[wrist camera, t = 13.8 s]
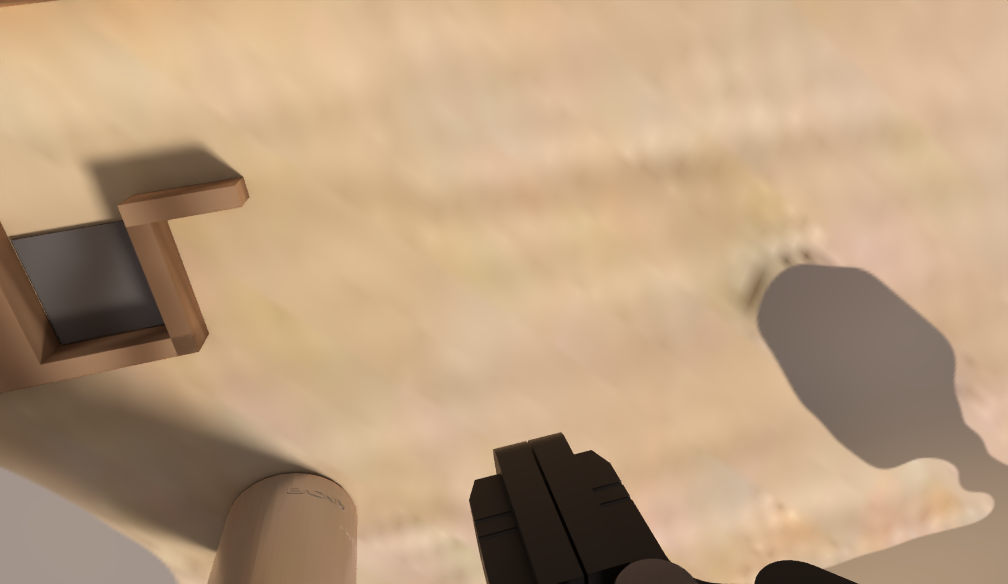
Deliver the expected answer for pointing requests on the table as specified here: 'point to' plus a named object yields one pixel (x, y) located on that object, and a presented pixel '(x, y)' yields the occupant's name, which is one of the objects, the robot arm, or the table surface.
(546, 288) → the table surface
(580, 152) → the table surface
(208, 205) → the trap lane
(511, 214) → the table surface
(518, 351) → the table surface
